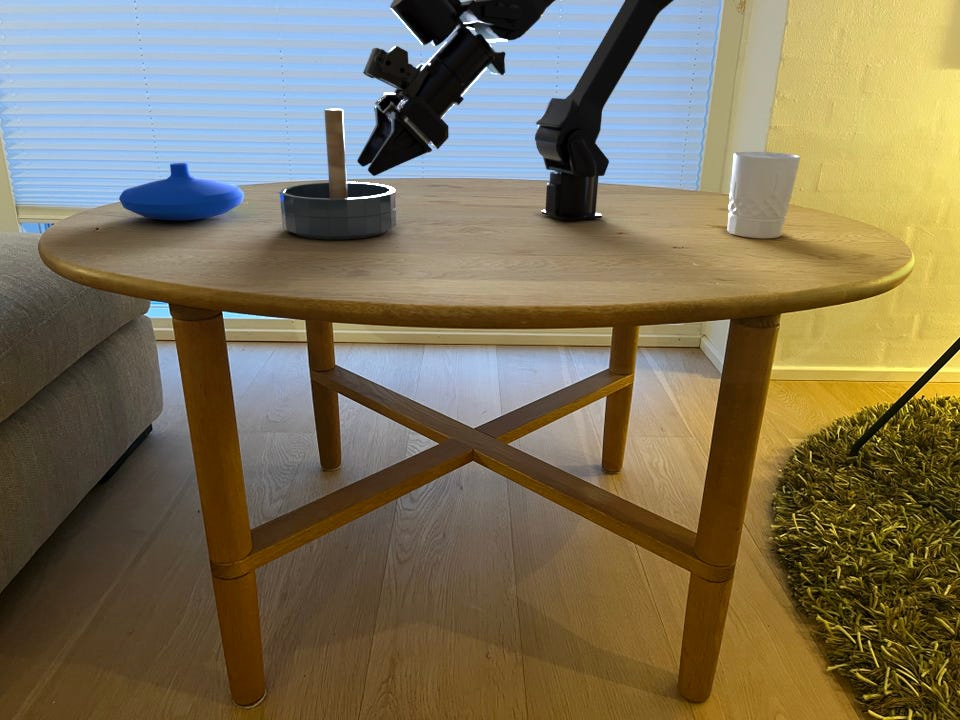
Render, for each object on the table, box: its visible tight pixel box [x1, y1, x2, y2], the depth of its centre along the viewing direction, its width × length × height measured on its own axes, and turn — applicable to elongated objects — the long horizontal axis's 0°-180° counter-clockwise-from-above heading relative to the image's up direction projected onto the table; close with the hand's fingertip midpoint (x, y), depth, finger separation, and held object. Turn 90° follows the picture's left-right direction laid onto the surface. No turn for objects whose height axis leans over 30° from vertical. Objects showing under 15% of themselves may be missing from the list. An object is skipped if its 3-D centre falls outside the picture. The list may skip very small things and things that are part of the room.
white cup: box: [726, 151, 801, 240], centre depth 90 cm, size 8×8×10 cm
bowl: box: [279, 181, 397, 241], centre depth 89 cm, size 14×14×5 cm
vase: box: [118, 162, 245, 222], centre depth 94 cm, size 16×16×7 cm
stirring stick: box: [323, 108, 348, 199], centre depth 87 cm, size 5×5×14 cm
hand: (364, 168), depth 88 cm, fingers open, 9 cm apart
